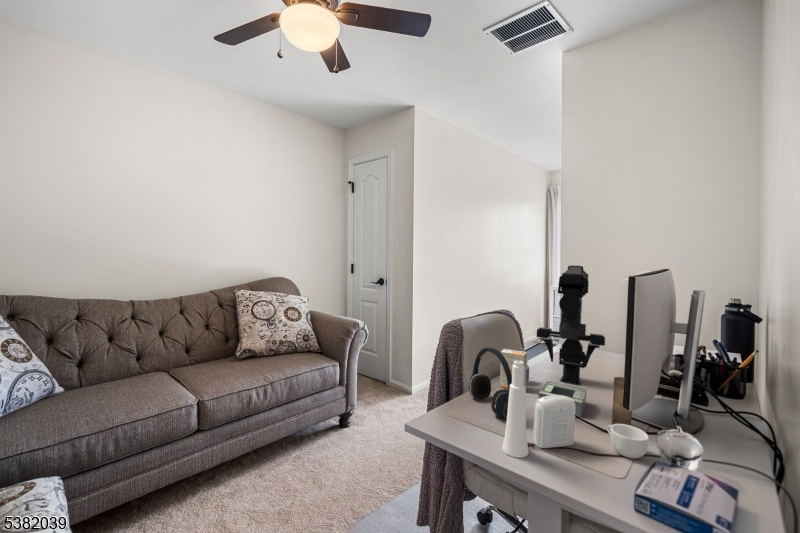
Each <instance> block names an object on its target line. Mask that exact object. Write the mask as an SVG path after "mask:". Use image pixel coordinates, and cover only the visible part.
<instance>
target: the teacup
mask: <svg viewBox="0 0 800 533" xmlns="http://www.w3.org/2000/svg"><path fill="white" fill-rule="evenodd" d="M606 430H607V433H608V435H609V436H610V441H611V442H610V443H611V445H612V447H613V448H614V450H615V451H616V452H617V453H618V454H619V455H621V456H623V457H625V458H629V459H632V460H633V459H640V458H642V457H644V456H645V454H646V453H647V450H648V446H649V435H648V433H646V432H645V431H643V430H642V429H640V428H638V427H635V426H633V425H631V426H630V425H625V424H609V425H607V428H606Z"/></svg>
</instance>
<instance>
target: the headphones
mask: <svg viewBox="0 0 800 533" xmlns="http://www.w3.org/2000/svg"><path fill="white" fill-rule="evenodd" d="M487 352H489V353H492V354H493V355H495V356H496V357H497V358H498V360H499V361H500V365H501V364H502V366H503V368H504V371H505V374H506V377H507V383H508V389H507V388H502V389H499V390H497V391H495V392H494V393H493V395H492V398H491V411H492V412H493V413H494V414H495V415H496V417H497V418H499V419H507V412H508V400H509V390H510V384H512V375H511V371H510V368H509V365H508V363H507V361H506V359H505V357H504V356H503V354H502V353H501V351H499V350H498V349H496V348H494V347H484V348H482V349H480V351H478V353H477V355H476V358H475V360H474V364H473V370H472V374H471V376H470V379H469V384H468V385H469V393H470V396H471V397H472V398H474V399H476V400H478V401H479V400H480V401H481V400H486V399H488V398H489V397H490V395H491V392H492V382H491V379H490V377H489V376H488V375H486V374H483V373H479V366H480V363H481V359H482V357H483V356H484V354H486V353H487Z"/></svg>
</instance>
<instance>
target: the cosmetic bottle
mask: <svg viewBox="0 0 800 533" xmlns="http://www.w3.org/2000/svg"><path fill="white" fill-rule="evenodd" d="M523 364H524V362H522V361H518V360H516V361H514V365H513V366H512V384H510V390H509V400H508V412H507V418H506V426H505V433H504V439H503V442H502V446H501V448H502V451H503V453H505V454H506V455H508V456H510V457H513V458H517V459H522V458H525V457H528V455H529V447H528V439H527V438H528V437H527V436H528V435H527V434H528V433H527V396H526V395H527V392H526V390H527V386H526V387H525V386H524V370H525V367H524V366H523Z"/></svg>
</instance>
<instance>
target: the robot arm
mask: <svg viewBox="0 0 800 533" xmlns="http://www.w3.org/2000/svg"><path fill="white" fill-rule="evenodd" d="M589 284H590V283H589V274H588V273H587V272H586V271H585V270H584V266H582V265H571V264H570V265H567V270H566V271H565V272H562V274H561V275H560V276H559V279H558V288H557V294H560V295H562V297H561V298H560V299H559V302H558V306H559V309H560V323H559V326H558V327H559V328H558V331H557V330H552V328H550V327H541V326H540V327H539V328H537V330H536V337H537V338H540V341H543V342H544V344H545V345H546V348H547V350H548V355H549V357H550V361H551V362H552V363H553V362H554V345H553V344H554V343H553V341H554V340H553V338H560V339H562V340H564V341H563V343H561V344H562V345H561V347H560V348H559V353H558V354H559V356H558V357H559V358H558V361H559V362H558V364H559V365H562V376H561V378H560V382H563V383H568V384H573V385H576V386H577V385H578V386H580V384H581V383H582V378H580V376H581V375H580V374H581V368H582V369H584V368H587V365H588V363H589V360H590V359H591V355H592V354H593V353H594V351H595V349H600V346H603V347H604V346H606V337H605V336H604V335H603V334H599V333H592V332H590V333H589V334H586V331H587V324H586V323H582V310H583V309H582V308H583V297H584V296H586V295H587V294H589ZM581 341H583V342H588V343H587V349H586V352H585V351H584V348H583V347H584V346H583V344H582V343H581Z"/></svg>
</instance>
